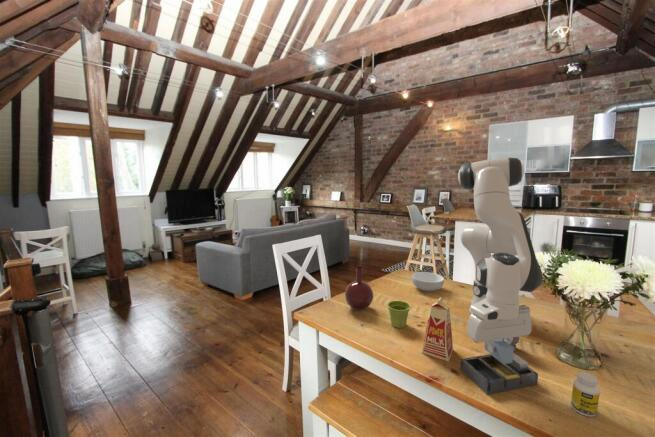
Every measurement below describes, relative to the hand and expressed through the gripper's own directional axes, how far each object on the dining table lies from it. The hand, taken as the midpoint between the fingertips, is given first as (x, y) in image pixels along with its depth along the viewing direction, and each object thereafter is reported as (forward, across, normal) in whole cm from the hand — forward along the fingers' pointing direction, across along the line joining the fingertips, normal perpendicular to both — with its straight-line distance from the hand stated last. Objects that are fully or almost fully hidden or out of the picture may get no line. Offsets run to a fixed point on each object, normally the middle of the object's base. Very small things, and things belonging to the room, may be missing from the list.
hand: (498, 350), depth 95 cm
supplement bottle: (+9, -12, +17) cm, 23 cm away
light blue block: (+2, 0, 0) cm, 2 cm away
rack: (+9, 0, 0) cm, 9 cm away
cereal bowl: (+9, -18, -71) cm, 74 cm away
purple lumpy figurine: (+9, -15, -13) cm, 22 cm away
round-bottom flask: (+9, +26, -57) cm, 63 cm away
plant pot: (+9, +15, -38) cm, 42 cm away
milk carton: (+9, +10, -17) cm, 22 cm away
